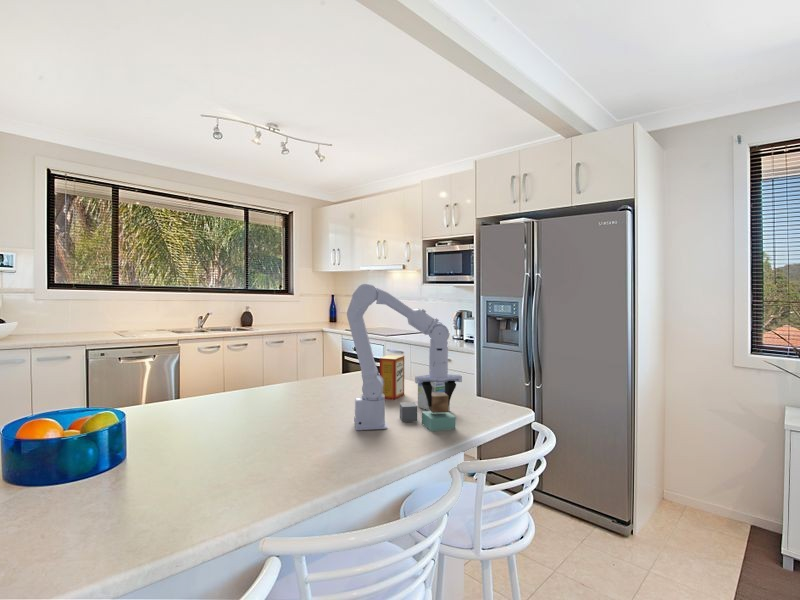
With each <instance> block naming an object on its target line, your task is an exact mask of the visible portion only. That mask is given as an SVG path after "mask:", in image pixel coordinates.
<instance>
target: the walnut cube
mask: <svg viewBox="0 0 800 600" xmlns="http://www.w3.org/2000/svg"><path fill="white" fill-rule="evenodd" d="M448 397H449V396H448V395H447V394H446V393H445V392H434V393H432V395H431V398H432V404H431V407H429V409H430V411H431V412H432V413H443V412H449V411H448Z"/></svg>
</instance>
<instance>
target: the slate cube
mask: <svg viewBox="0 0 800 600" xmlns="http://www.w3.org/2000/svg"><path fill="white" fill-rule="evenodd" d="M399 420H400V421H401V423H412V422H411V421H417V422H418V404H417V403H416V402H415V401H412V402H399Z"/></svg>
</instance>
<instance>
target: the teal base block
mask: <svg viewBox="0 0 800 600" xmlns="http://www.w3.org/2000/svg"><path fill="white" fill-rule="evenodd" d="M423 424H424V425H425V426H426V427H427V428H426V427H425V426H424V425H423ZM421 425H423V426H424V427H425V428H426V429H428V430H429V432H438V431H437V430H440V431H447V430H446V429H450V430H456V416H455V415H454V414H452V413H450V412H449V411H448V412H443V413H432V412H431V411H428V410H426V411H421Z"/></svg>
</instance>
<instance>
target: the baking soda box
mask: <svg viewBox="0 0 800 600" xmlns="http://www.w3.org/2000/svg"><path fill="white" fill-rule="evenodd" d="M379 374H380V375H381V377H382V378H383V380H384V385H383V392H382V393H383V394H384V395H385V400H392V399H393V400H392V401H395V399H396V400H397V399H398V398H400V396H401V397H402V396H404V395H405V355H398V354H397V355H395V354H388V355H383V356H381V357H380V358H379Z"/></svg>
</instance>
